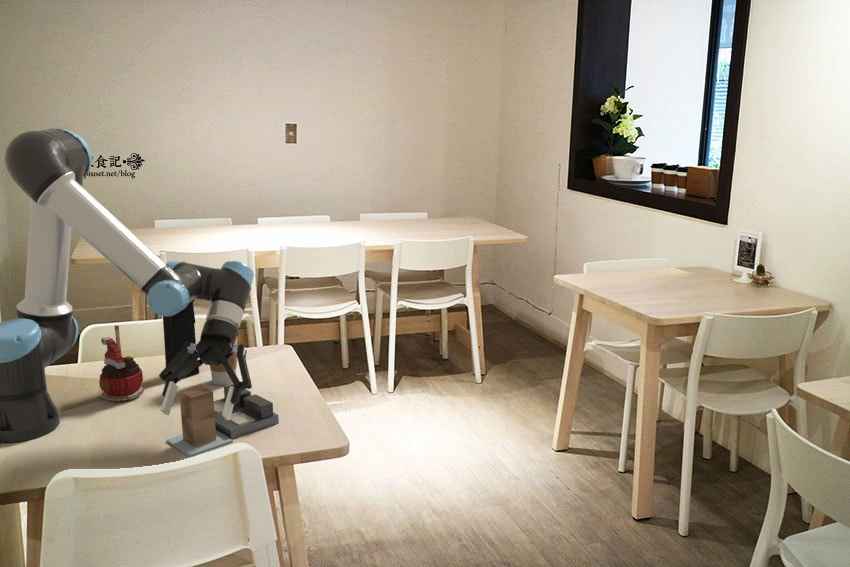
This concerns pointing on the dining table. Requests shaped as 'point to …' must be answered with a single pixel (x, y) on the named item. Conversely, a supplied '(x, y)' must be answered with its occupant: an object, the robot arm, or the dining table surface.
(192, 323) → the portable radio
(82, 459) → the dining table surface
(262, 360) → the dining table surface
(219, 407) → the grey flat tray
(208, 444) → the mat
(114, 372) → the cake
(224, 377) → the coffee cup
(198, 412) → the walnut block
